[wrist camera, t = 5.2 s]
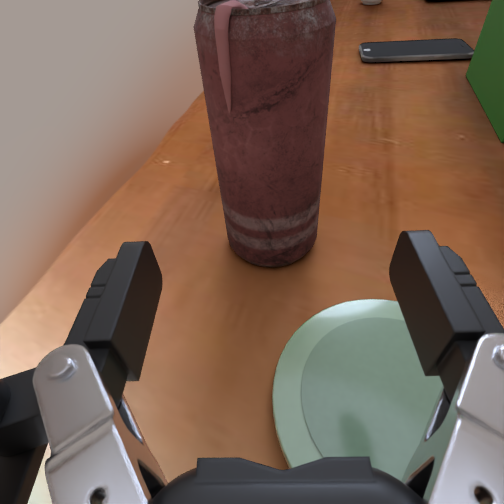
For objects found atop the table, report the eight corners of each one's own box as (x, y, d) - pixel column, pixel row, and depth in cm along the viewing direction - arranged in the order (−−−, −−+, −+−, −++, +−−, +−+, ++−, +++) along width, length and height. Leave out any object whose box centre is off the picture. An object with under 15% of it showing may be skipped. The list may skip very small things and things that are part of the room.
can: (212, 260, 23) (156, 8, 13) (249, 205, 27) (229, -20, 17) (298, 284, 21) (311, 8, 11) (325, 221, 25) (352, -23, 15)
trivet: (415, 283, 20) (419, 274, 20) (607, 492, 13) (625, 487, 12) (241, 344, 18) (240, 336, 18) (350, 637, 11) (354, 640, 10)
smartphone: (358, 42, 53) (461, 37, 51) (357, 47, 54) (459, 43, 51) (363, 57, 48) (478, 53, 46) (362, 63, 48) (476, 59, 46)
